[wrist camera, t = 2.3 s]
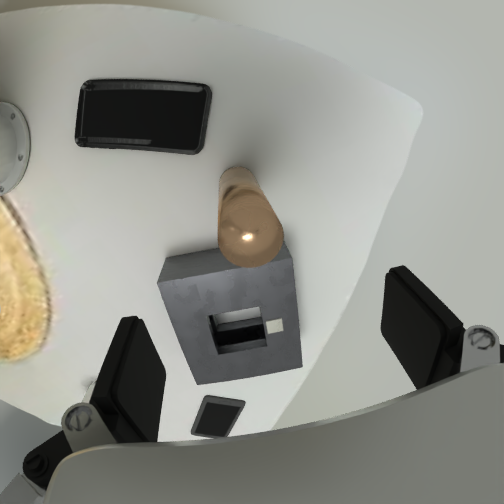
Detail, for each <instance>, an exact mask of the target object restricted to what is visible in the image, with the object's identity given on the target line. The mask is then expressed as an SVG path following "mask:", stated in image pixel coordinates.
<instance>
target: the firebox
mask: <svg viewBox="0 0 504 504" xmlns="http://www.w3.org/2000/svg"><path fill="white" fill-rule="evenodd" d="M157 284H158V287H159V290H160V293H161V296H162V298H163V301H164V304H165V307H166V309H167V312H168V315H169V318H170V320H171V323H172V325H173V328H174V331H175V333H176V336H177V338H178V341H179V343H180V346H181V348H182V351H183V353H184V355H185V358H186V360H187V363H188V365H189V367H190V370H191V372H192V374H193V377H194V379H195V381H196V383H197V385H201V384H209V383H217V382H224V381H231V380H237V379H243V378H249V377H255V376H261V375H266V374H272V373H277V372H282V371H287V370H291V369H296V368H301V367H303V365H302V353H301V341H300V330H299V319H298V309H297V299H296V289H295V279H294V270H293V261H292V257H291V255H290V253H289V251H288V249H287V247H286V245H285V243H284V241H283V244H282V247H281V249H280V251H279V252H278V254H277V255H276V256H275V257H274V258H273V259H272V260H271V261H270V262H268V263H266V264H264V265H262V266H259V267H254V268H245V267H240V266H237V265H235V264H233V263H231V262H230V261H228V260H227V259H226V258H225V257H224V255H223V254H222V252H221V250H220V248H216V249H210V250H205V251H200V252H195V253H190V254H184V255H179V256H174V257H169V258H166V259H165V262H164V265H163V268H162V270H161V273H160V276H159V279H158V282H157ZM258 306H259V307H260V312H261V317H259V318H253V319H248V320H242V321H237V322H231V323H225V324H219V325H218V324H217V321H216V317H215V314H219V313H225V312H231V311H237V310H242V309H248V308H253V307H258Z"/></svg>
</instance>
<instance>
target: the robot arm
mask: <svg viewBox="0 0 504 504" xmlns="http://www.w3.org/2000/svg"><path fill="white" fill-rule="evenodd" d="M29 151H30V139H29V131H28V127H27V123H26V121H25V119H24V116H23V115H22V113H21V112H20V110H19V109H18V108H17V107H15V106H14V105H12V104H10V103H7V102H0V196H1V195H4V194H6V193H8V192H10V191H11V190H12V189H14V188H15V187H16V185H17V184H18V183H19V182H20V180H21V178H22V177H23V174H24V172H25V170H26V166H27V163H28V158H29ZM381 333H382V335H383V337H384V338H385V340H386V341H387V343H388V344H389V346H390V347H391V349H392V351H393V352H394V354H395V355H396V357H397V358H398V360H399V361H400V363H401V365H402V366H403V368H404V369H405V371H406V373H407V374H408V376H409V377H410V379H411V381H412V382H413V384H414V386H415V387H416V389H417V390H416V391H413V392H410V393H408V394H405V395H402V396H399V397H397V398H394V399H391V400H388V401H386V402H382V403H380V404H377V405H373V406H370V407H367V408H364V409H360V410H357V411H353V412H350V413H346V414H343V415H339V416H335V417H332V418H328V419H324V420H320V421H316V422H311V423H307V424H302V425H298V426H293V427H288V428H283V429H277V430H272V431H266V432H260V433H254V434H247V435H240V436H232V437H223V438H214V439H203V440H189V441H173V442H157V439H158V431H159V423H160V415H161V408H162V401H163V394H164V387H165V381H166V370H165V368H164V365H163V363H162V361H161V359H160V357H159V355H158V353H157V350H156V348H155V346H154V344H153V342H152V339H151V337H150V335H149V333H148V330H147V328H146V326H145V323H144V321H143V320H142V319H139V318H138V317H137V316H130V317H123V318H122V319H121V320H120V323H119V325H118V328H117V330H116V332H115V335H114V337H113V340H112V342H111V345H110V347H109V350H108V352H107V355H106V357H105V359H104V362H103V365H102V367H101V370H100V373H99V375H98V378H97V381H96V384H95V386H94V389H93V392H92V395H91V398H90V401H89V403H85V402H82V403H77V404H75V405H72V406H71V407H70V408H68V409H67V410H66V412H65V413H64V415H63V417H62V421H61V425H62V429H63V430H62V431H61V432H59V433H58V434H56V435H55V436H53V437H52V438H50V439H49V440H47V441H46V442H44V443H43V444H41V445H40V446H38V447H36V448H35V449H33V450H32V451H31V452H29V453H28V454H27V456H26V457H25V459H24V462H23V472H24V473H23V474H22V475H21V474H20V473H18V474H17V475H16V477H15V478H14V479H13V480H12V481H11V482H10V483H9V485H8V486H7V487H6V488H5V489H4V490H3V491H2V493H1V494H0V504H504V345H501V344H500V343H499V337H498V335H497V334H496V333H495V332H494V331H493V330H492V329H490V328H489V327H486V326H483V325H475V326H471V327H469V328H468V329H467V330H465V328H464V327H463V323H462V322H461V321H460V320H459V319H458V318H457V317H456V316H455V314H454V313H453V312H452V311H451V310H450V309H448V307H447V306H446V305H445V304H444V303H443V302H442V301H441V300H440V299H439V298H438V297H437V296H436V295H435V294H434V293H433V292H432V291H431V290H430V289H429V288H428V287H427V286H426V285H425V284H424V283H422V282H421V281H420V280H419V279H418V278H417V277H416V276H415V275H414V274H413V273H412V272H411V271H410V270H409V269H408V268H407V267H405V266H403V265H402V266H398V267H394V268H391V269H390V270H389V273H387V274H386V276H385V289H384V301H383V311H382V320H381Z"/></svg>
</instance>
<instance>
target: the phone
mask: <svg viewBox="0 0 504 504" xmlns="http://www.w3.org/2000/svg"><path fill="white" fill-rule="evenodd" d="M211 98H212V92H211V89H210V88H209V87H208V86H207V85H205V84H200V83H190V82H178V81H163V80H139V79H102V80H88V81H86V82H85V83H84V84H83V85H82V86H81V89H80V95H79V102H78V109H77V118H76V128H75V142H76V144H77V145H78V146H80V147H90V148H109V149H131V150H145V151H157V152H168V153H178V154H187V155H195V154H198V153H199V152H200V151H201V150H202V148H203V146H204V140H205V134H206V127H207V121H208V115H209V109H210V103H211Z"/></svg>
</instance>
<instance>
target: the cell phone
mask: <svg viewBox="0 0 504 504" xmlns="http://www.w3.org/2000/svg"><path fill="white" fill-rule="evenodd" d="M244 406H245V401H243V400H237V399H230V398H224V397H217V396H211V395H206V396H205V397H204V398H203V401H202V403H201V406H200V409H199V411H198V414H197V416H196V419H195V422H194V424H193V427H192V429H191V434H192V435H195V436H201V437H208V438H223V437H227V436H228V435H229V433H230V431H231V429H232V428H233V426H234V424H235V422H236V421H237V419H238V417H239V415H240V413H241V412H242V410H243V408H244Z"/></svg>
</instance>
